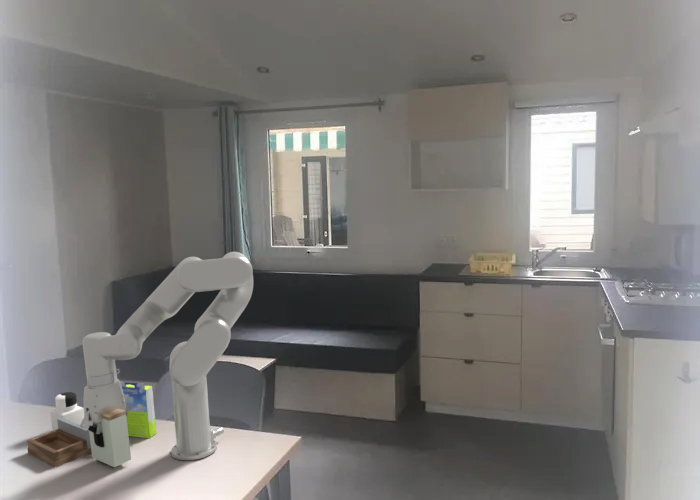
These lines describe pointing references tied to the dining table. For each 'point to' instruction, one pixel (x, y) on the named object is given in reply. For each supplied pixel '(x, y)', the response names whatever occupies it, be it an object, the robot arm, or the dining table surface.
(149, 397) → the box
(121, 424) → the tall rectangular pillar
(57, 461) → the slot rack
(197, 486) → the dining table surface
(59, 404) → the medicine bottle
